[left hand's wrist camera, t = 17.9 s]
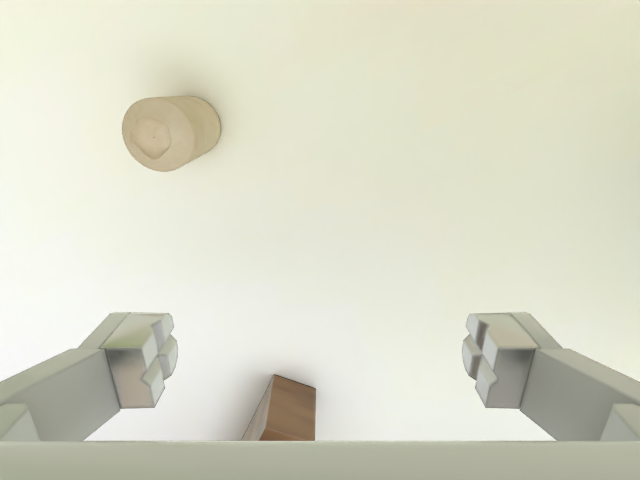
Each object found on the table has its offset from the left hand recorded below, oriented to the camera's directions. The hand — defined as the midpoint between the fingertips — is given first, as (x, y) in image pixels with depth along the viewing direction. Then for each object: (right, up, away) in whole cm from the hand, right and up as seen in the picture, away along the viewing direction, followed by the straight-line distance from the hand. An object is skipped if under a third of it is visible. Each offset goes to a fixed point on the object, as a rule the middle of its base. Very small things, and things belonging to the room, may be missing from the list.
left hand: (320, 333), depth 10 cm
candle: (-12, +14, +26) cm, 32 cm away
